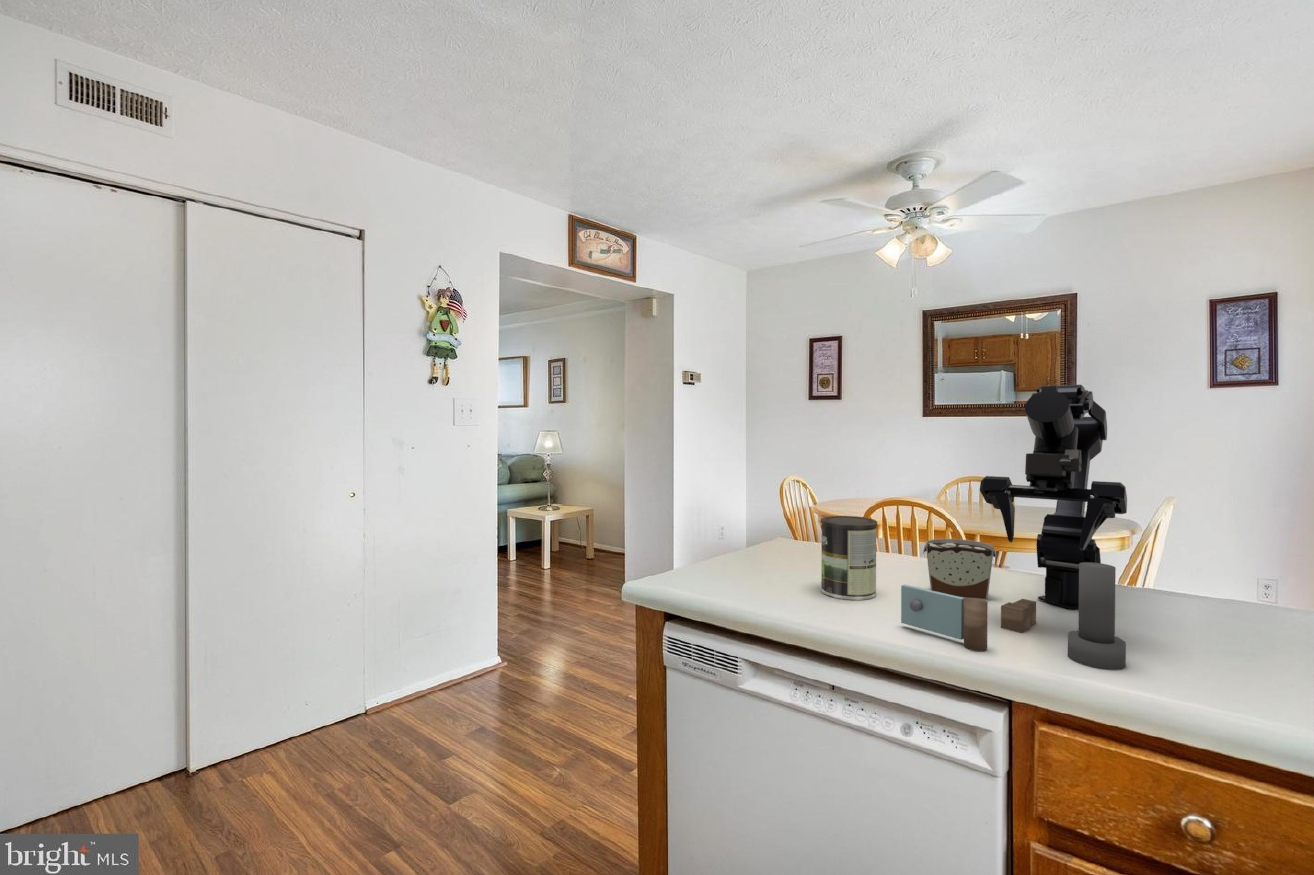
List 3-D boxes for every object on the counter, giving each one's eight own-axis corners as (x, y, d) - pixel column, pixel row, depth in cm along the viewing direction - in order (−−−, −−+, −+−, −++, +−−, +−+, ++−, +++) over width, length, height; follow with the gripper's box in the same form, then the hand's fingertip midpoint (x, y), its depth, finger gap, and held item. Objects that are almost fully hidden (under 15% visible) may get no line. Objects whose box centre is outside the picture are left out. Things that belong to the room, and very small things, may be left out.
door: (964, 638, 88) (964, 597, 88) (957, 641, 87) (958, 600, 87) (904, 621, 96) (904, 584, 96) (897, 624, 95) (897, 586, 94)
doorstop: (1090, 649, 86) (1091, 559, 85) (1137, 666, 80) (1138, 569, 79) (1056, 654, 84) (1057, 562, 83) (1102, 672, 78) (1103, 573, 77)
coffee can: (818, 597, 112) (818, 522, 111) (822, 583, 121) (822, 514, 121) (877, 602, 108) (877, 525, 108) (876, 588, 118) (877, 517, 118)
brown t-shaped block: (981, 652, 84) (981, 605, 84) (959, 646, 87) (960, 600, 87) (1039, 623, 96) (1039, 581, 96) (1019, 619, 99) (1019, 578, 99)
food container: (989, 592, 115) (990, 540, 114) (996, 601, 109) (996, 546, 108) (919, 586, 119) (920, 536, 118) (922, 595, 113) (923, 542, 113)
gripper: (978, 429, 97) (964, 518, 91) (1124, 429, 84) (1118, 532, 79) (993, 460, 104) (981, 544, 98) (1129, 465, 92) (1124, 561, 86)
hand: (1044, 545), depth 90 cm, fingers open, 9 cm apart
